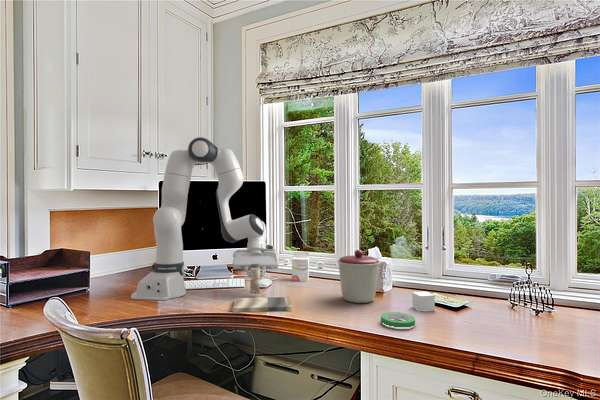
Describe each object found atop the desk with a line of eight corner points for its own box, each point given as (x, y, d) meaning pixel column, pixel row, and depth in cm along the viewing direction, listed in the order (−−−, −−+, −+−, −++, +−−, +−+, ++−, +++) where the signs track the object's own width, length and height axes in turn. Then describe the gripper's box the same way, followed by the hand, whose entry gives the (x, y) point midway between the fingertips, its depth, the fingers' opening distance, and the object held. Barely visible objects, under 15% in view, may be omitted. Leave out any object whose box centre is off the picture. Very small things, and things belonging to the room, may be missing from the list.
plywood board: (232, 312, 135) (232, 308, 135) (235, 301, 149) (235, 297, 149) (291, 310, 137) (291, 306, 137) (289, 300, 151) (289, 297, 151)
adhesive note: (420, 312, 136) (420, 296, 136) (412, 307, 142) (412, 292, 142) (434, 311, 138) (434, 295, 138) (426, 306, 144) (426, 291, 144)
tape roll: (421, 328, 119) (421, 320, 119) (392, 332, 116) (392, 323, 116) (402, 318, 130) (403, 310, 130) (375, 321, 126) (375, 313, 126)
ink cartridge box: (291, 281, 187) (291, 252, 187) (292, 279, 192) (293, 251, 192) (308, 281, 186) (308, 253, 186) (309, 279, 191) (309, 251, 191)
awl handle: (250, 293, 154) (250, 265, 154) (250, 291, 158) (251, 263, 158) (259, 293, 154) (260, 265, 154) (259, 291, 158) (260, 263, 158)
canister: (362, 292, 164) (362, 246, 164) (389, 302, 148) (390, 251, 148) (328, 297, 156) (328, 248, 156) (353, 308, 140) (354, 254, 140)
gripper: (233, 246, 163) (230, 272, 153) (278, 246, 165) (278, 272, 155) (233, 254, 167) (231, 280, 157) (278, 255, 169) (278, 280, 159)
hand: (255, 276), depth 156 cm, fingers closed on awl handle, 4 cm apart
